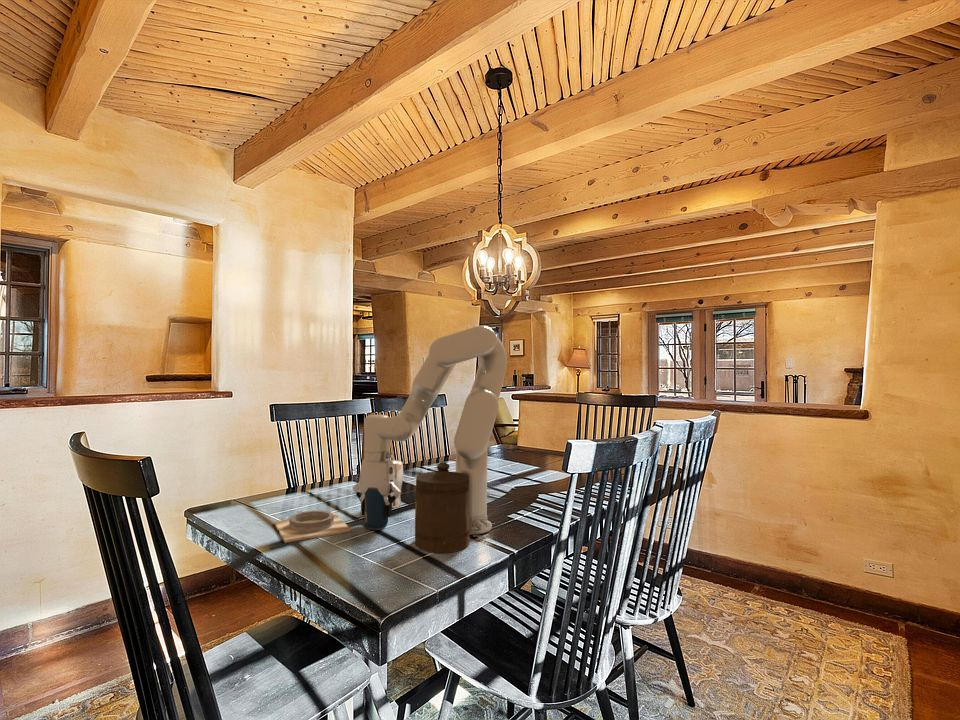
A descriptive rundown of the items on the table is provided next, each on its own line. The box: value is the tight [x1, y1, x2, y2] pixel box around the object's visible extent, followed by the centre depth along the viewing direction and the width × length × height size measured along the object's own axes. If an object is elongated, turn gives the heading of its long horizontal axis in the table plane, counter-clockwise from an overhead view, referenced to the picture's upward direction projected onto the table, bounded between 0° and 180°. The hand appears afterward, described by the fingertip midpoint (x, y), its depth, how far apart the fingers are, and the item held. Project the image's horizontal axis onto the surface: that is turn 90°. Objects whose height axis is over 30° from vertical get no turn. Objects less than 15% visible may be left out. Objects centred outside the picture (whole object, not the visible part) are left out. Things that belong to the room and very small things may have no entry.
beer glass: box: [390, 459, 404, 509], centre depth 169 cm, size 7×7×15 cm
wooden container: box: [414, 461, 471, 554], centre depth 135 cm, size 15×15×22 cm
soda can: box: [364, 488, 389, 530], centre depth 148 cm, size 7×7×12 cm
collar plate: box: [273, 510, 352, 544], centre depth 146 cm, size 18×18×3 cm
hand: (376, 515), depth 148 cm, fingers closed on soda can, 6 cm apart
